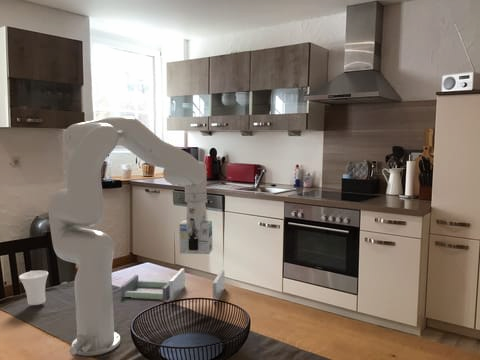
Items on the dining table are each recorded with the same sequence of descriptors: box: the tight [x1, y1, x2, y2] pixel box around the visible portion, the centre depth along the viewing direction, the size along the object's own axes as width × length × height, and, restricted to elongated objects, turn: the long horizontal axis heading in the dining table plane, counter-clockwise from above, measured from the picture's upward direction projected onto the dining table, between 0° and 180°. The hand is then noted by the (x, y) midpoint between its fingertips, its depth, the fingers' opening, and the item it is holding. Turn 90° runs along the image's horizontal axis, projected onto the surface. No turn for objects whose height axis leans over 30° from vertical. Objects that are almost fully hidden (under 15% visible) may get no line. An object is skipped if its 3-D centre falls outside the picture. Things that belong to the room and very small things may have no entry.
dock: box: [120, 274, 170, 300], centre depth 156 cm, size 12×16×4 cm
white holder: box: [168, 268, 226, 302], centre depth 153 cm, size 14×16×7 cm
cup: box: [18, 270, 49, 306], centre depth 144 cm, size 9×9×10 cm
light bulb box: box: [178, 219, 213, 255], centre depth 150 cm, size 11×7×11 cm, turn 84°
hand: (196, 247), depth 151 cm, fingers closed on light bulb box, 7 cm apart
